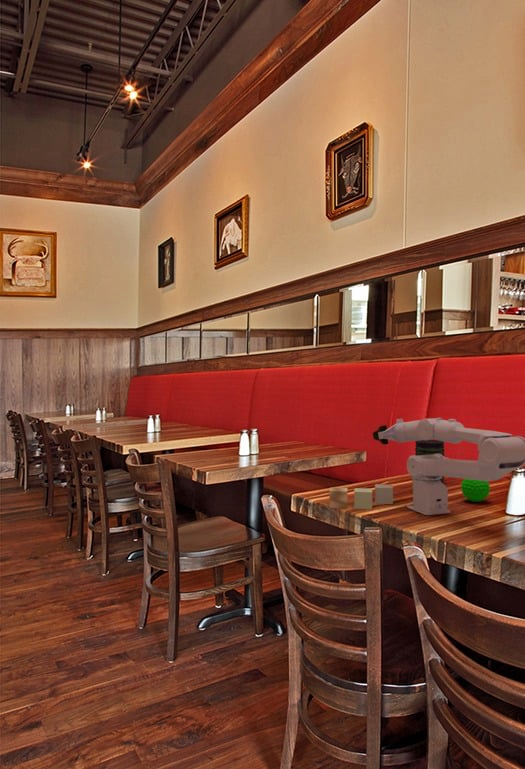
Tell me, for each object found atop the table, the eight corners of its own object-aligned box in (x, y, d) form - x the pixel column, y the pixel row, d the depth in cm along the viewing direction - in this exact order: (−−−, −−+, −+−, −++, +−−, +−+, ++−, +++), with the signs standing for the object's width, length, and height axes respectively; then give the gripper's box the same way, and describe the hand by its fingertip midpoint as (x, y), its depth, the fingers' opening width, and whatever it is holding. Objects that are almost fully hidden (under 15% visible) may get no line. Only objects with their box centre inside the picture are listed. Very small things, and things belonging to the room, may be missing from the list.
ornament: (495, 504, 159) (495, 470, 159) (471, 505, 157) (471, 471, 157) (479, 498, 167) (479, 465, 167) (455, 499, 165) (455, 466, 165)
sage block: (371, 505, 158) (371, 488, 158) (372, 510, 153) (372, 492, 153) (354, 505, 159) (354, 488, 159) (354, 509, 154) (354, 491, 154)
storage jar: (414, 485, 187) (414, 442, 187) (415, 480, 196) (415, 439, 196) (445, 487, 184) (445, 443, 184) (444, 481, 193) (444, 440, 193)
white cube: (391, 501, 164) (392, 484, 164) (392, 505, 159) (392, 488, 159) (375, 500, 164) (375, 484, 164) (375, 504, 160) (375, 487, 160)
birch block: (347, 505, 159) (347, 488, 159) (347, 509, 154) (347, 491, 154) (330, 504, 160) (330, 487, 160) (329, 508, 155) (329, 490, 155)
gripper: (428, 414, 161) (400, 419, 173) (389, 420, 155) (362, 424, 168) (433, 438, 160) (404, 440, 173) (393, 445, 155) (366, 447, 167)
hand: (384, 434), depth 170 cm, fingers open, 7 cm apart
